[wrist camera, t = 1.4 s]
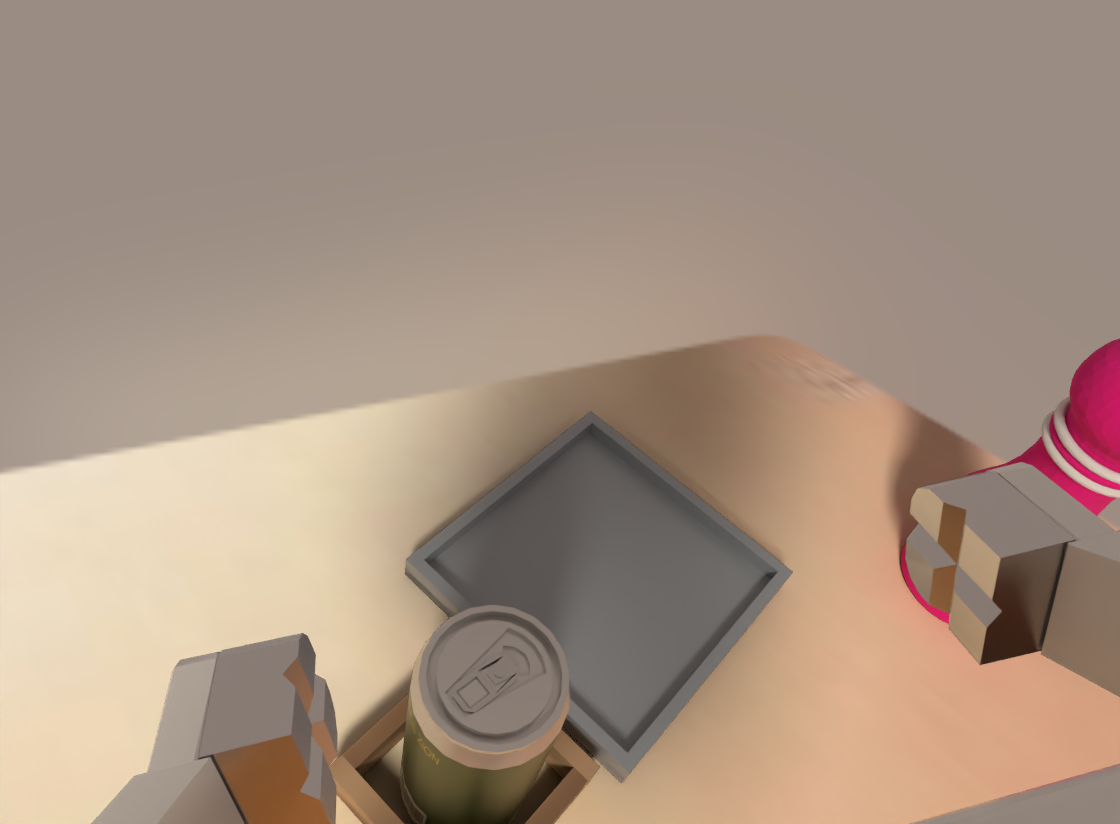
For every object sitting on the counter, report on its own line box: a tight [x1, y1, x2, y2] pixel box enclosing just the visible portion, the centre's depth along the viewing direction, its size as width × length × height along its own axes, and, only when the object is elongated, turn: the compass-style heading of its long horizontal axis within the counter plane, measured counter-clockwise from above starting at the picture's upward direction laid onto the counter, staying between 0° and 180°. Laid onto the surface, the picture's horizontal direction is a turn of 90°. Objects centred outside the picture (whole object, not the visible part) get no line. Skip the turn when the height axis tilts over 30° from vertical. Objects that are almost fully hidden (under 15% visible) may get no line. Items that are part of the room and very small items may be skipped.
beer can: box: [400, 605, 571, 824], centre depth 32 cm, size 5×5×12 cm
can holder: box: [329, 693, 600, 824], centre depth 36 cm, size 8×8×2 cm
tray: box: [405, 412, 793, 783], centre depth 44 cm, size 14×14×2 cm
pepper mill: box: [901, 339, 1120, 623], centre depth 41 cm, size 7×7×20 cm
